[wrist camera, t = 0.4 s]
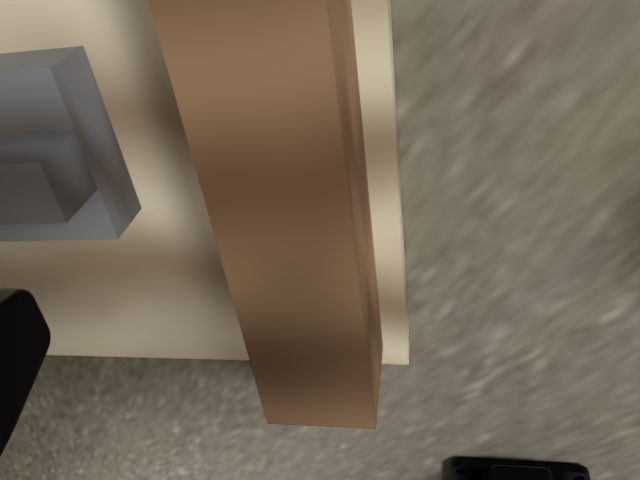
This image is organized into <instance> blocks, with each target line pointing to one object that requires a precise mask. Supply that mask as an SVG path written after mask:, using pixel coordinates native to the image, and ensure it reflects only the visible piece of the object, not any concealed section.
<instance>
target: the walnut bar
mask: <svg viewBox="0 0 640 480" xmlns="http://www.w3.org/2000/svg"><path fill="white" fill-rule="evenodd" d="M148 2H149V6H150V9H151V13H152V17H153V20H154V24H155V27H156V31H157V34H158V38H159V41H160V45H161V48H162V52H163V55H164V59H165V63H166V66H167V70H168V73H169V77H170V80H171V84H172V87H173V91H174V94H175V98H176V102H177V105H178V109H179V112H180V116H181V119H182V123H183V126H184V130H185V133H186V137H187V141H188V144H189V148H190V151H191V155H192V158H193V162H194V165H195V169H196V172H197V176H198V179H199V183H200V187H201V190H202V194H203V197H204V201H205V204H206V208H207V211H208V215H209V218H210V222H211V226H212V229H213V233H214V236H215V240H216V243H217V247H218V250H219V254H220V257H221V261H222V265H223V268H224V272H225V275H226V279H227V282H228V286H229V289H230V293H231V296H232V300H233V303H234V307H235V311H236V314H237V318H238V321H239V325H240V328H241V332H242V335H243V339H244V342H245V346H246V350H247V353H248V357H249V360H250V364H251V367H252V371H253V374H254V378H255V381H256V385H257V388H258V392H259V396H260V399H261V403H262V406H263V410H264V413H265V417H266V420H267V424H285V425H305V426H326V427H346V428H366V429H376V420H377V409H378V398H379V387H380V376H381V364H382V353H383V341H382V330H381V320H380V309H379V298H378V287H377V276H376V266H375V255H374V244H373V233H372V222H371V212H370V201H369V190H368V179H367V168H366V158H365V147H364V136H363V125H362V114H361V104H360V93H359V82H358V71H357V60H356V49H355V39H354V28H353V17H352V6H351V0H148Z"/></svg>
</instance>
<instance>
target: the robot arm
mask: <svg viewBox="0 0 640 480" xmlns="http://www.w3.org/2000/svg"><path fill="white" fill-rule="evenodd" d="M50 341H51V333H50V329H49V327H48V325H47V323H46V320H45V318H44V316H43V314H42V312H41V310H40V308H39V306H38V304H37V302H36V300H35V298H34V296H33V294H32V293H30V292H29V291H28V290H25V289H12V288H3V289H0V456H1V455H2V453H3V451H4V449H5V447H6V445H7V443H8V441H9V439H10V437H11V435H12V432H13V430H14V428H15V426H16V424H17V421H18V419H19V417H20V414H21V412H22V410H23V407H24V405H25V403H26V400H27V398H28V396H29V393H30V391H31V389H32V386H33V384H34V381H35V379H36V377H37V374H38V372H39V370H40V367H41V365H42V363H43V360H44V358H45V356H46V353H47V351H48V349H49V346H50ZM451 480H590V475H589V471H588V469H587V468H586V467H584V466H580V465H565V464H548V463H531V462H513V461H496V460H479V459H462V458H460V459H455V460H453V461H452V462H451Z"/></svg>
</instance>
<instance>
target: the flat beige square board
mask: <svg viewBox="0 0 640 480" xmlns="http://www.w3.org/2000/svg"><path fill="white" fill-rule="evenodd" d="M351 6H352V17H353V28H354V39H355V49H356V60H357V71H358V82H359V93H360V104H361V114H362V125H363V136H364V147H365V158H366V168H367V179H368V190H369V201H370V212H371V222H372V233H373V244H374V255H375V266H376V276H377V287H378V298H379V309H380V320H381V330H382V341H383V353H382V364H403V365H409V327H408V309H407V292H406V274H405V256H404V238H403V220H402V202H401V184H400V166H399V148H398V131H397V113H396V95H395V77H394V59H393V41H392V23H391V5H390V0H351ZM3 288H12V289H25V290H28V291H29V292H30V293H32V294H33V296H34V298H35V300H36V302H37V304H38V306H39V308H40V310H41V312H42V314H43V316H44V318H45V320H46V323H47V325H48V327H49V329H50V333H51V341H50V346H49V349H48V351H47V353H46V355H67V356H104V357H141V358H179V359H216V360H249V357H248V353H247V350H246V346H245V342H244V339H243V335H242V332H241V328H240V325H239V321H238V318H237V314H236V311H235V307H234V303H233V300H232V296H231V293H230V289H229V286H228V282H227V279H226V275H225V272H224V268H223V265H222V261H221V257H220V254H219V250H218V247H217V243H216V240H215V236H214V233H213V229H212V226H211V222H210V218H209V215H208V211H207V208H206V204H205V201H204V197H203V194H202V190H201V187H200V183H199V179H198V176H197V172H196V169H195V165H194V162H193V158H192V155H191V151H190V148H189V144H188V141H187V137H186V133H185V130H184V126H183V123H182V119H181V116H180V112H179V109H178V105H177V102H176V98H175V94H174V91H173V87H172V84H171V80H170V77H169V73H168V70H167V66H166V63H165V59H164V55H163V52H162V48H161V45H160V41H159V38H158V34H157V31H156V27H155V24H154V20H153V17H152V13H151V9H150V6H149V2H148V0H0V289H3Z"/></svg>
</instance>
